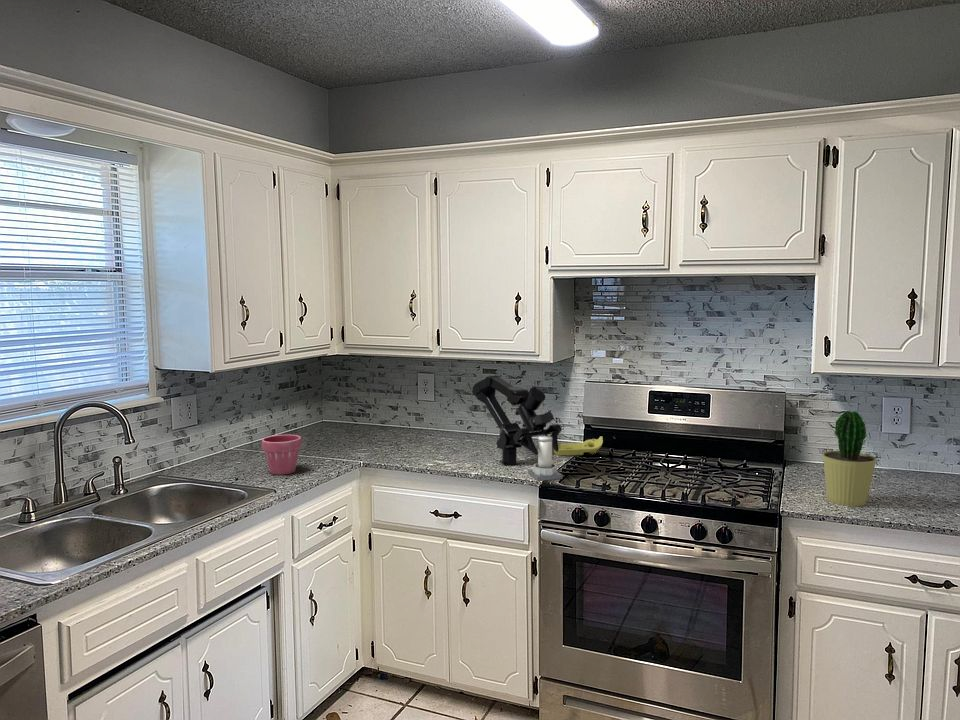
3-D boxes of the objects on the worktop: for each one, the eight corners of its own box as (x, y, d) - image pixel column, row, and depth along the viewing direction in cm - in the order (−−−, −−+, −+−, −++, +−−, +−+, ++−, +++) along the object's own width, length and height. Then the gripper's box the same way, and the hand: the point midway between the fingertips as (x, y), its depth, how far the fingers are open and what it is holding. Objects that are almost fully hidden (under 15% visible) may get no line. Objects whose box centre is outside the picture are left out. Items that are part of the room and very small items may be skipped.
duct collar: (527, 474, 266) (527, 463, 265) (552, 472, 268) (552, 461, 268) (537, 480, 256) (537, 470, 256) (562, 478, 259) (562, 467, 259)
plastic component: (553, 450, 293) (554, 435, 302) (555, 464, 297) (556, 449, 306) (602, 448, 290) (602, 433, 298) (603, 463, 293) (603, 447, 302)
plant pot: (258, 469, 272) (257, 436, 270) (295, 465, 279) (294, 432, 277) (268, 478, 259) (267, 443, 258) (306, 473, 267) (305, 439, 265)
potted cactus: (871, 497, 237) (876, 407, 234) (876, 510, 223) (881, 415, 220) (819, 491, 243) (824, 404, 240) (821, 504, 229) (825, 411, 226)
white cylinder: (539, 470, 265) (539, 435, 264) (553, 471, 264) (553, 436, 263) (536, 473, 260) (536, 438, 259) (551, 474, 259) (551, 438, 258)
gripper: (518, 407, 258) (536, 443, 250) (559, 402, 268) (578, 437, 260) (505, 425, 265) (522, 460, 257) (546, 420, 275) (563, 454, 267)
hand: (547, 452), depth 260 cm, fingers open, 9 cm apart
